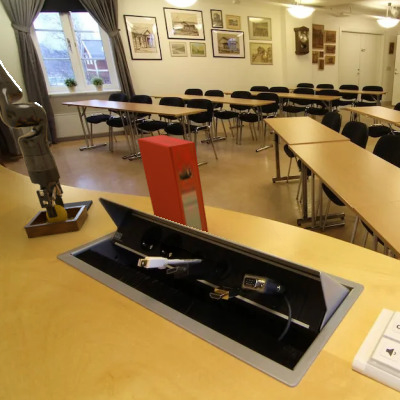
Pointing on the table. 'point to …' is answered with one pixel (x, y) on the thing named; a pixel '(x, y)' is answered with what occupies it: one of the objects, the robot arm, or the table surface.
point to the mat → (79, 204)
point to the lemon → (60, 212)
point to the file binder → (174, 180)
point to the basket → (56, 223)
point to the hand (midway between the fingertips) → (57, 212)
